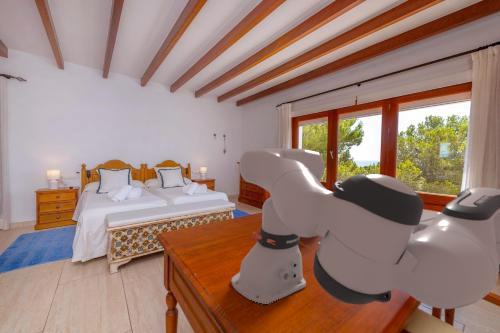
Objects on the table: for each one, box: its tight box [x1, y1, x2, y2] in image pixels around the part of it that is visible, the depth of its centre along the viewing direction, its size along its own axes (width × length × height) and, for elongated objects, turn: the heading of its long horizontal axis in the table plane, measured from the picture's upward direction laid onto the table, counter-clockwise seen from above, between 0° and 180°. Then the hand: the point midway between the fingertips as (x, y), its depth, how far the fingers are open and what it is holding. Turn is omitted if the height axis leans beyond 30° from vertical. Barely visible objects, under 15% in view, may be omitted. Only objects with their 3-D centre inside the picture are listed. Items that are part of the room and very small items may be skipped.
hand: (401, 216), depth 73 cm, fingers open, 8 cm apart
